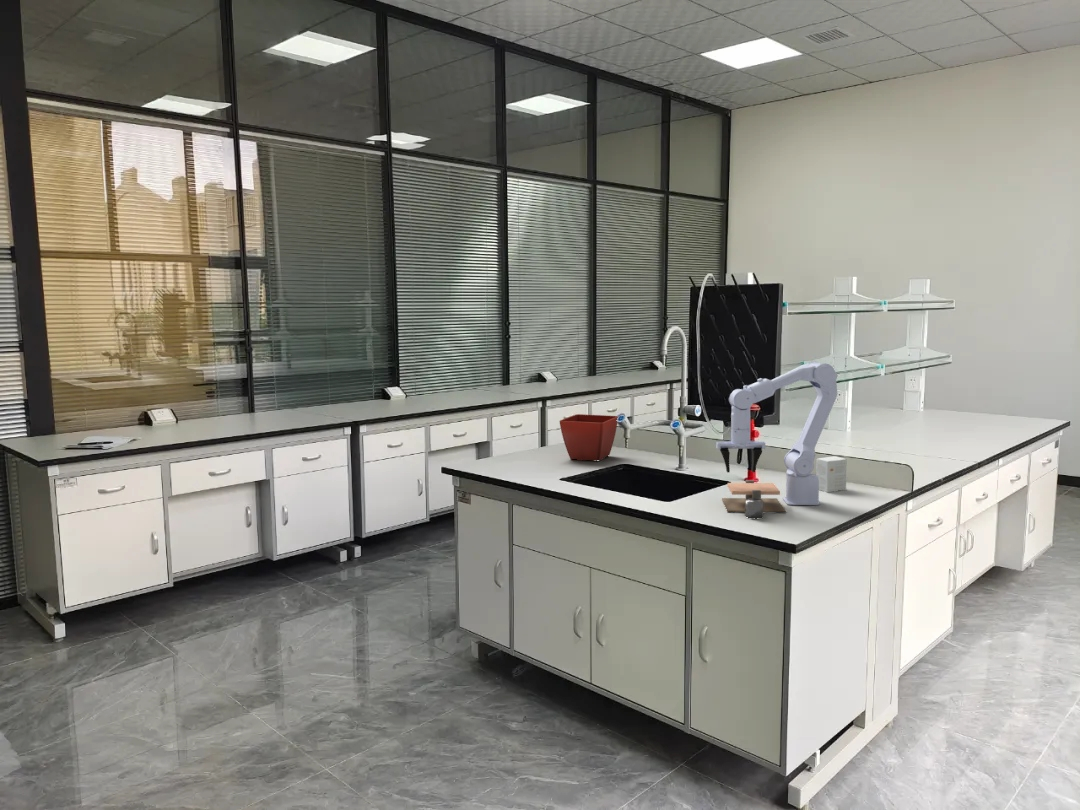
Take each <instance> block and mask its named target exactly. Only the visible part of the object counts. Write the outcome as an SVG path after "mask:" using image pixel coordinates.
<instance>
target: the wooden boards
mask: <svg viewBox="0 0 1080 810" xmlns="http://www.w3.org/2000/svg"><path fill="white" fill-rule="evenodd" d="M745 483H755V480H754V479H746V480H745ZM748 498H758V499H762V500H763V512H786V513H787V509H785V507H784V506H783V504H781V502H780V500H779V498H777V497H776V498H775V497H771V498H770V497H769V498H768V497H767V498H766V497H765V498H762V495H761V491H760V490H752V495H745V497H744V498H743V497H727V498H726V497H722V498H721V501H722V503H723V505H725V506H724V507H726V508H725V510H726V509H727V510H726V512H727V513H731V512H745V500H746V499H748Z"/></svg>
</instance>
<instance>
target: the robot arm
mask: <svg viewBox="0 0 1080 810" xmlns="http://www.w3.org/2000/svg"><path fill="white" fill-rule="evenodd" d="M837 379H838V373H837V372H836V369H835V368H834V367H833V366H832V365H831V364H829V363H824V362H823V363H822V362H818V361H811V362H808V363H806V364H805V363H804V364H802V365H799V366H797V367H795V368H794V369H791V370H789V371H786V372H785V373H783V374H781V375H778V376H777V377H775V378H773V379H768V378H761V377H760V378H758V379H756V380H757V381H756V382H754V383H751V384H748V385H746V384H745V385H743V388H741V389H740V388H736V389H734V390H733V391H732V392H731V393H730V394H729V397H728V402H729V404H730V406H731V414H730V418H731V419H730V420H731V421H730V427H731V430H730V438H731V439H730V440H729V441H716V446H715V447H716V450H719V451H720V453H721V455H722V458H723V460H724V464H725V469H726V473H730V453H731V452H730V450H731V449H732V450H739V449H740V450H741V449H744V450H745V449H750V450H751V472H752V473H756V468H757V465H758V462H759V460H760V457H761V455H762V454H763V450H766V442H765V441H754V440H751V408H752V406H753V404H756V403H759V402H761V401H763V400H765V399H768V398H771V397H772V396H774V394H775V393H776V390H778V389H781V388H784V387H785V386H789V385H792V384H794V383H796V382H799V381H803V382H809V384H811V385H812V386H813V388H814V390H815V393H816V394H817V395H816V398H815V400H814V402H813V405H812V407H811V409H810V412H809V415H808V416H807V419H806V421H805V424H804V426H803V429H802V430H801V433H800V435H799V438H798V440H797V441H796V442H795V443H794V444H793V445H792V446H791V449H790V450H789V451H788V452H787V453H786V454H785V455H784V458H783V464H784V466H785V467H786V468H787V470H786V473H785V475H786V476H785V479H786V480H785V481H786V482H785V488H786V489H785V492H786V493H785V496H783V497H782V499H783V501H784V502H785V504H786V505H787V506H819V505H820V503H819V499H820V498H819V497H820V492H819V491H820V490H819V480H818V476H817V475H816V474H813V473H812V472H813V471H814V468H815V460H816V459H815V458H816V456H817V455H816V454H817V453H816V445H817V444H818V442H819V439H820V436H821V434H822V432H823V430H824V427H825V426H826V422H827V420H828V418H829V415H830V414H831V411H832V410H833V409H832V408H833V406H834V404H835V402H836V399H837V397H838V385H837Z"/></svg>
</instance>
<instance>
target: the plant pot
mask: <svg viewBox="0 0 1080 810" xmlns="http://www.w3.org/2000/svg"><path fill="white" fill-rule="evenodd" d="M617 418H618V419H619V416H618V415H607V414H606V415H605V414H604V415H601V414H586V413H585V414H584V413H583V414H580V413H579V414H574V415H570V416H569V417H565V418H564V419H560V420H559V426H560V431H561V435H562V439H563V443H564V445H565V448H566V451H567V453H568V454H567V455H568V456H569V459H570V460H571V459H577V460H576V461H582V460H601V459H602V458H604V457H606V456H608V455H609V456H610V454H611V451H612V449H613V445H614V441H615V436H616V432H617V427H618V422H617V421H616V420H617ZM609 456H608V457H609ZM606 458H607V457H606ZM604 459H605V458H604ZM602 460H603V459H602ZM602 460H601V461H602Z"/></svg>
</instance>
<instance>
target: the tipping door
mask: <svg viewBox="0 0 1080 810" xmlns="http://www.w3.org/2000/svg"><path fill="white" fill-rule="evenodd" d="M727 488H728V489H729V491H730V494H731V495H732V496H733V495H735V496H736V495H740V496H741V495H743V496H744V495H752V490H760V491H761V496H763V495H764V496H766V495H767V496H769V495H770V496H772V495H773V496H776V495H777V496H780V495H781V491H780V490H779V488H778V487H777V486H776V484H775V483H773V482H754V483H746V482H727Z"/></svg>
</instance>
